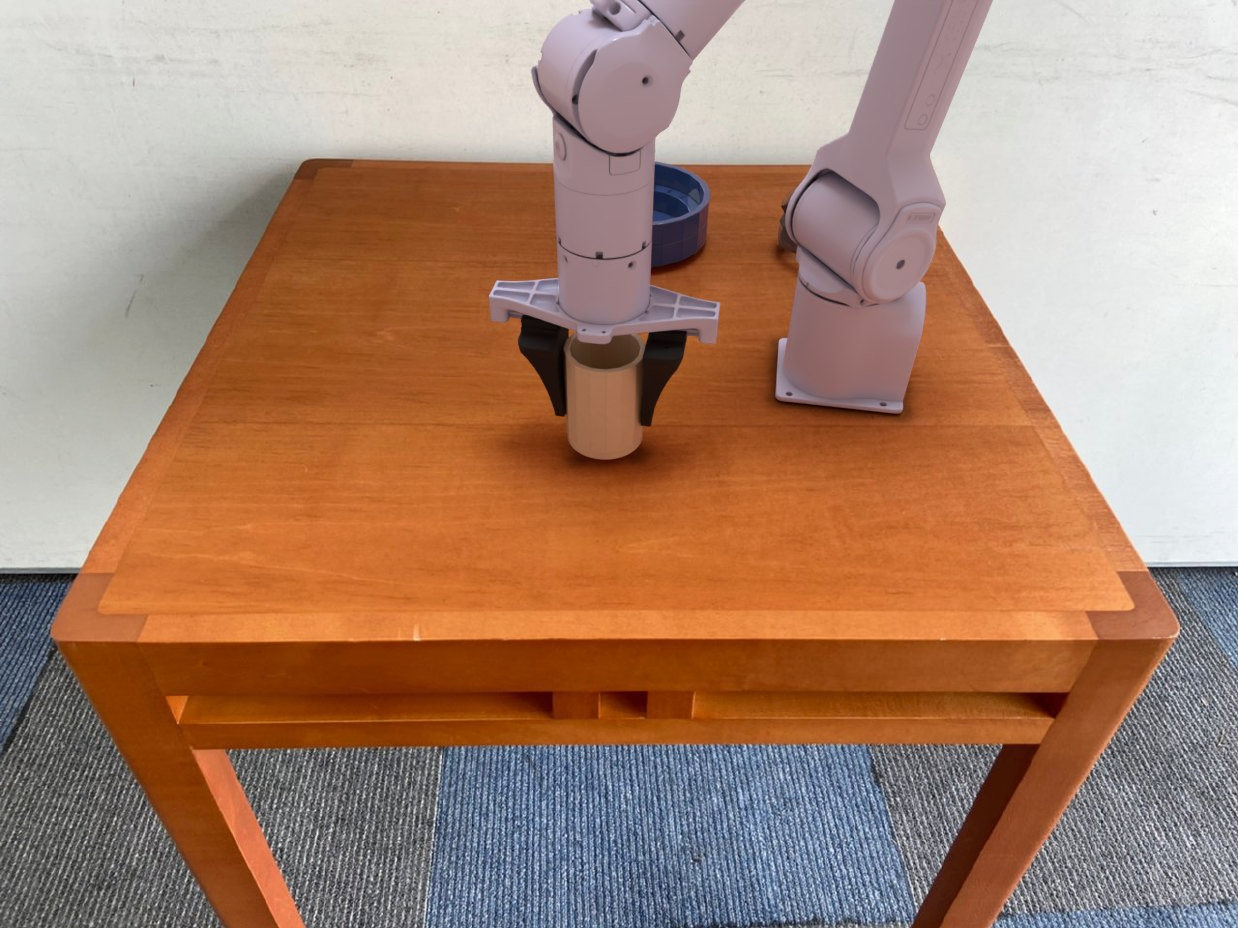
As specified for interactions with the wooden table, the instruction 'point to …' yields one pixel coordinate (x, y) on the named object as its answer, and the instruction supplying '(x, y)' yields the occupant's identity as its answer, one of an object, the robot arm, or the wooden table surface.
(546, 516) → the wooden table surface
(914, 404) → the wooden table surface
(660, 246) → the bowl
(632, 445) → the cup
